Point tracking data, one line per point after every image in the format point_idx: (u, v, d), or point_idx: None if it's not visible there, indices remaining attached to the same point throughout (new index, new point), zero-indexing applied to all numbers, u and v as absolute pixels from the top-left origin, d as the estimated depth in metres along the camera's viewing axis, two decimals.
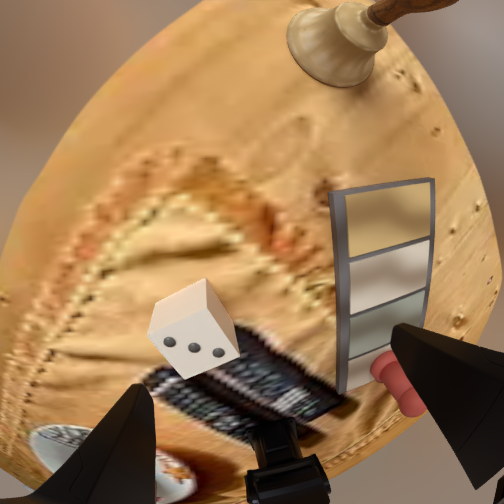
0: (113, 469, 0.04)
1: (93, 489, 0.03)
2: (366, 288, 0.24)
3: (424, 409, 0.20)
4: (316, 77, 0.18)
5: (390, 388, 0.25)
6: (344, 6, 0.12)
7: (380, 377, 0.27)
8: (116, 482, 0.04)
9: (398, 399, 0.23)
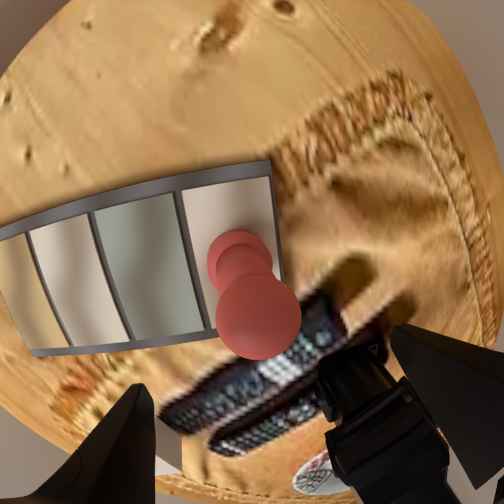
0: (113, 469, 0.04)
1: (93, 489, 0.03)
2: (95, 326, 0.18)
3: (261, 338, 0.10)
4: None
5: None
6: None
7: None
8: (116, 482, 0.04)
9: None
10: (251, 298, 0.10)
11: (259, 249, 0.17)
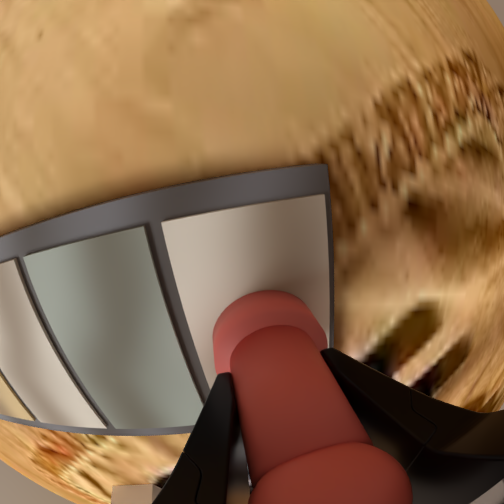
0: (233, 465, 0.05)
1: (224, 493, 0.04)
2: (58, 407, 0.10)
3: None
4: None
5: None
6: None
7: None
8: (235, 480, 0.04)
9: None
10: None
11: (308, 331, 0.09)
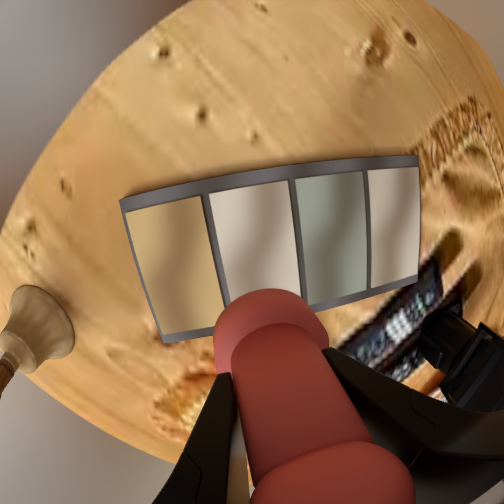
0: (233, 465, 0.05)
1: (224, 493, 0.04)
2: None
3: None
4: (73, 343, 0.21)
5: None
6: None
7: None
8: (235, 480, 0.04)
9: None
10: None
11: (309, 329, 0.09)
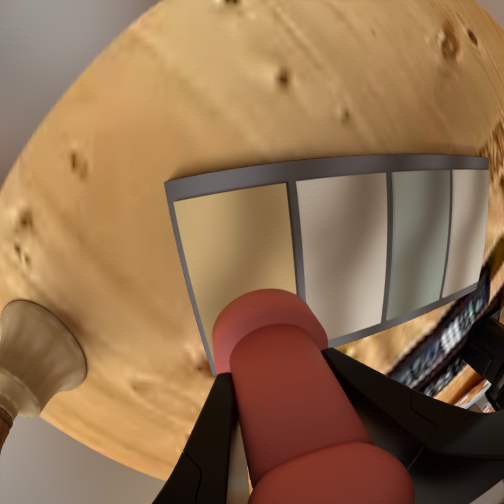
0: (232, 466, 0.05)
1: (224, 493, 0.04)
2: (352, 311, 0.16)
3: None
4: (84, 374, 0.16)
5: None
6: None
7: None
8: (235, 480, 0.04)
9: None
10: None
11: (308, 329, 0.09)
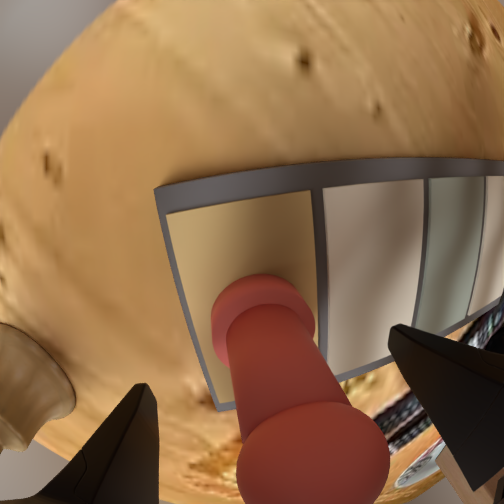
0: (117, 469, 0.04)
1: (97, 490, 0.03)
2: (378, 338, 0.13)
3: None
4: (74, 404, 0.13)
5: None
6: None
7: None
8: (120, 483, 0.04)
9: None
10: (317, 482, 0.03)
11: (296, 310, 0.10)
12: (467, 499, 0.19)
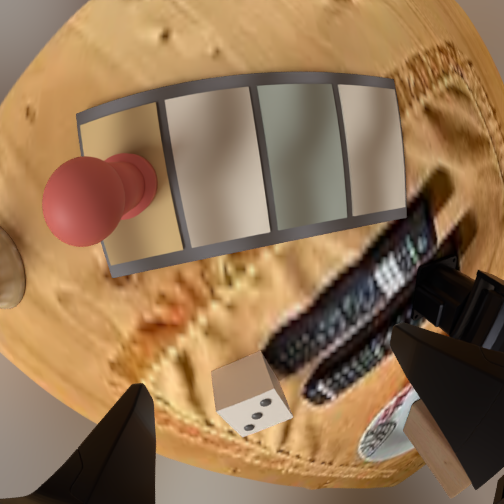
0: (113, 469, 0.04)
1: (93, 489, 0.03)
2: (231, 213, 0.18)
3: (58, 203, 0.08)
4: (23, 287, 0.17)
5: None
6: None
7: None
8: (116, 482, 0.04)
9: None
10: (60, 168, 0.08)
11: (138, 166, 0.14)
12: (439, 473, 0.24)
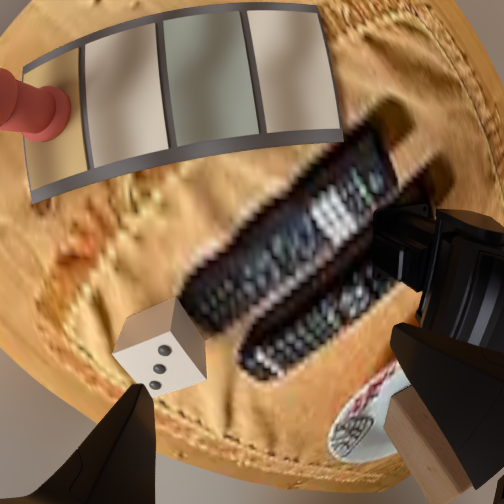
0: (113, 469, 0.04)
1: (93, 489, 0.03)
2: (130, 131, 0.16)
3: None
4: None
5: (18, 129, 0.10)
6: None
7: (40, 130, 0.12)
8: (116, 482, 0.04)
9: (1, 127, 0.09)
10: None
11: (53, 93, 0.12)
12: (423, 481, 0.21)
